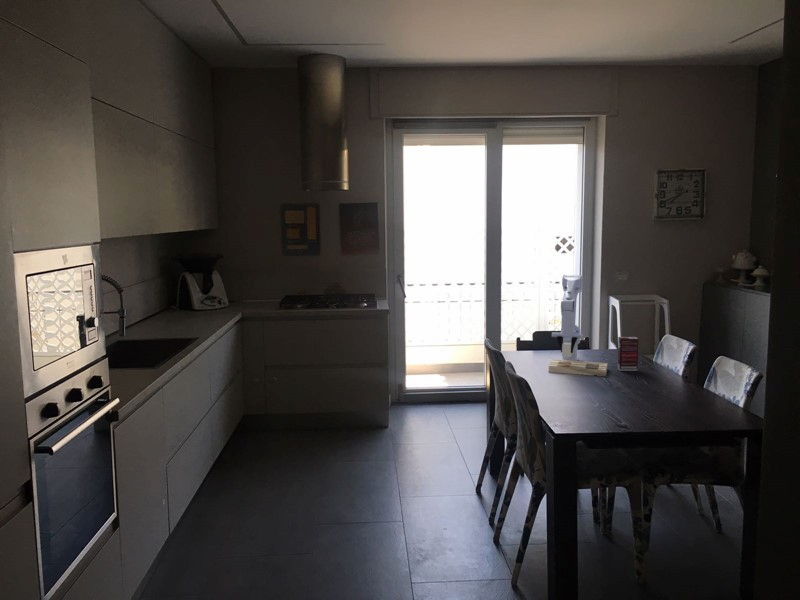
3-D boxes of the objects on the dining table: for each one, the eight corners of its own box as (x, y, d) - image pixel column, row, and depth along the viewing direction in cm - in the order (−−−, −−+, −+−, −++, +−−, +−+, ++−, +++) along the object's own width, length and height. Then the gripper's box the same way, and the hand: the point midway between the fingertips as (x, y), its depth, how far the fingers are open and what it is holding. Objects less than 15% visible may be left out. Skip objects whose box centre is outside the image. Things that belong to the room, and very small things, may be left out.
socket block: (552, 365, 318) (552, 358, 317) (607, 369, 308) (607, 362, 308) (548, 371, 305) (548, 364, 304) (605, 376, 295) (605, 369, 295)
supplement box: (635, 368, 309) (636, 336, 307) (637, 371, 304) (639, 338, 302) (616, 368, 310) (617, 336, 308) (619, 371, 305) (620, 338, 303)
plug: (563, 354, 310) (563, 342, 309) (571, 355, 309) (571, 343, 308) (561, 356, 306) (562, 344, 306) (570, 357, 305) (570, 344, 304)
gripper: (551, 325, 304) (550, 352, 306) (582, 326, 299) (581, 355, 301) (553, 322, 311) (552, 349, 313) (583, 324, 306) (583, 352, 308)
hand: (566, 352), depth 307 cm, fingers closed on plug, 4 cm apart
